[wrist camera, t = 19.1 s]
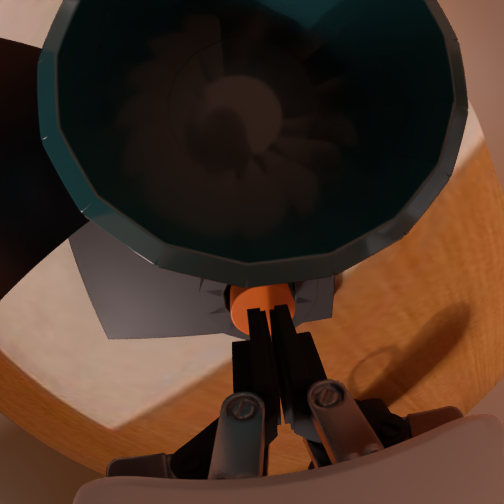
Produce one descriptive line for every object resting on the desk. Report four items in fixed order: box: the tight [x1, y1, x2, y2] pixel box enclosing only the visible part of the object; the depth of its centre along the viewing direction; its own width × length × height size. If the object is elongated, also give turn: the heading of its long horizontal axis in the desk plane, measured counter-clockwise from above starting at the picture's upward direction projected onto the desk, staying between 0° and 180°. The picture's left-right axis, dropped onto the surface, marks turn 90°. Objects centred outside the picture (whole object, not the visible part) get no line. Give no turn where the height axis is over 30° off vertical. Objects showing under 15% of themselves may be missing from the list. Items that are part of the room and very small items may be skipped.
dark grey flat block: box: [68, 221, 335, 340], centre depth 13 cm, size 15×18×3 cm
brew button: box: [230, 283, 295, 335], centre depth 13 cm, size 3×3×2 cm
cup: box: [37, 0, 468, 288], centre depth 6 cm, size 6×6×8 cm
